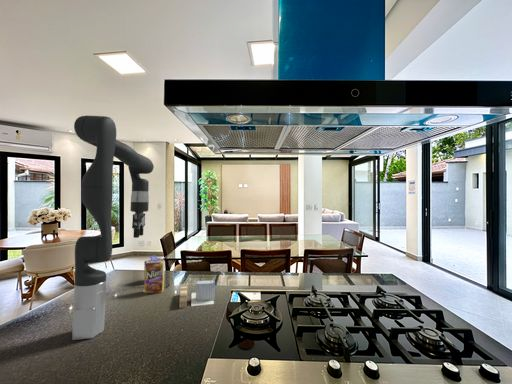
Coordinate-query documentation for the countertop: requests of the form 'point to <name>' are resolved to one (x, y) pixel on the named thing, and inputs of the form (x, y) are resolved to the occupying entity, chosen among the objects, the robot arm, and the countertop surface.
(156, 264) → the candy box
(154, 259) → the ink cartridge box
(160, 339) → the countertop surface
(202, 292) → the medicine box
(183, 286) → the ledge
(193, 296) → the mat
